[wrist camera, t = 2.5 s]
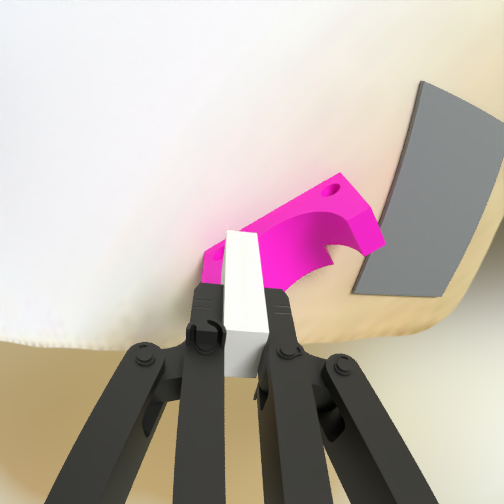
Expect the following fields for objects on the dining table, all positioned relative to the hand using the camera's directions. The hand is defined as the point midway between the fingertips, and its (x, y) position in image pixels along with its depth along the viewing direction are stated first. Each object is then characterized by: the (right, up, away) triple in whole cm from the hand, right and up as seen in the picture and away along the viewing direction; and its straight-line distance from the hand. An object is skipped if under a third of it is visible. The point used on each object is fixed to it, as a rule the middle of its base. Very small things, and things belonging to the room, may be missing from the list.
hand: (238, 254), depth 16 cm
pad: (+21, +5, +13) cm, 25 cm away
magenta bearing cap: (+4, +2, +15) cm, 15 cm away
